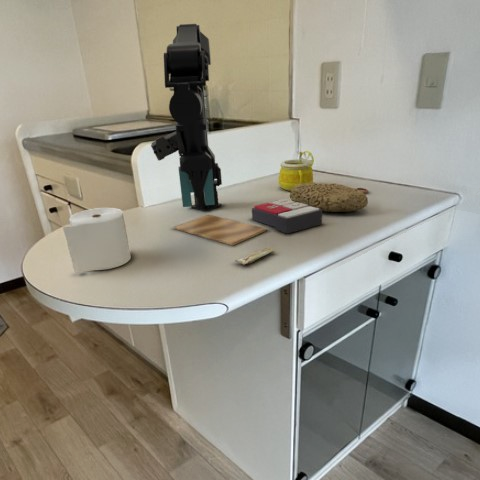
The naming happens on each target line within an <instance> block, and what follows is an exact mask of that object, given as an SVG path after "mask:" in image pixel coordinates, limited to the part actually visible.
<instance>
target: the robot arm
mask: <svg viewBox="0 0 480 480" xmlns="http://www.w3.org/2000/svg"><path fill="white" fill-rule="evenodd" d="M211 59H212V58H211V48H210V39H209V38H208V37H207V36H206V35H205V34H204V33H203V32H202V31H201V28H200V25H199V24H197V23H185V24H184V23H183V24H181V23H180V24H179V25H177V26H176V35H175V37H174V38H173V39H172V43H170V44H168V45H167V46H166V52H163V72H164V89H169V88H170V89H171V88H173V94H172V96H171V97H170V99H169V104H168V110H169V114H170V116H171V118H172V119H173V121H175V122H176V124H175V131H173V132H171V133H169V134H167V135H161V136H160V137H158V138H155V141H152V142H151V144H150V147H151V149H152V152H153V154H154V155H155V157H156V159H157V161H162V160H164V159H165V158H166V157H168V156H170V155H172V154H174V153H177V152H178V155H179V158H178V159H179V167H180V169H181V172H185V173H187V174H188V175H189V180H191V184H192V187H193V190H194V193H193V197H194V199H193V200H194V204H192V207H190V208H191V209H195V210H199V211H204V212H208V211H211V210H214V209H216V208H220V207H222V206H223V204H222V203H220V202H219V194H218V193H219V192H218V189H217V187H220V186H222V185H223V181H222V169H221V167H220V166H219V164H218V162H216V156H215V154H214V151H212V148H210V146H209V138H208V137H209V135H208V126H207V113H206V112H207V111H206V101H205V89H204V87H206V86H207V82H209V81H210V73H209V72H210V71H209V70H210V69H209V66H210V65H212V60H211ZM211 169H212V175H213V188H214V201H215V205H206V204H205V198H204V192H203V189H204V185H205V182H206V179H207V176H208V173H209V170H211Z"/></svg>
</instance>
